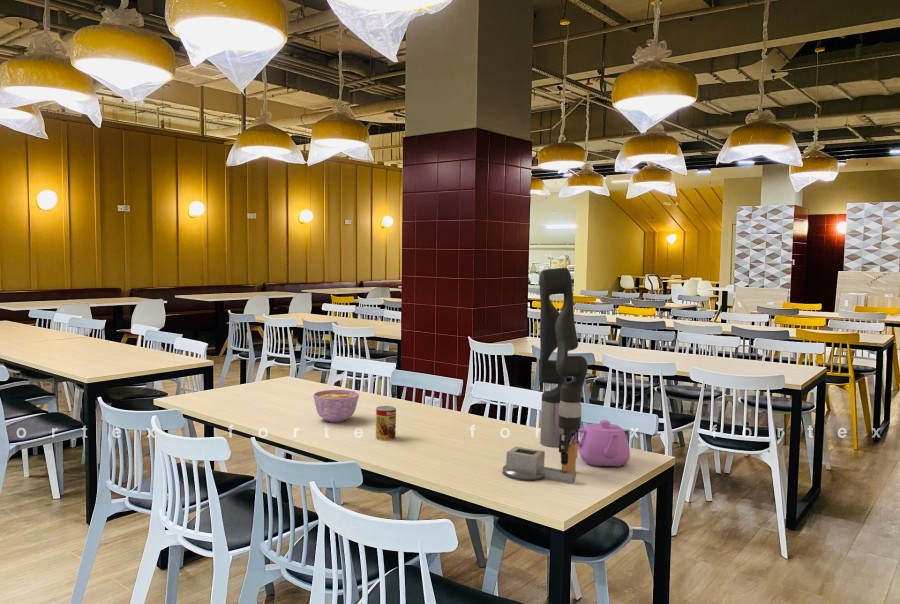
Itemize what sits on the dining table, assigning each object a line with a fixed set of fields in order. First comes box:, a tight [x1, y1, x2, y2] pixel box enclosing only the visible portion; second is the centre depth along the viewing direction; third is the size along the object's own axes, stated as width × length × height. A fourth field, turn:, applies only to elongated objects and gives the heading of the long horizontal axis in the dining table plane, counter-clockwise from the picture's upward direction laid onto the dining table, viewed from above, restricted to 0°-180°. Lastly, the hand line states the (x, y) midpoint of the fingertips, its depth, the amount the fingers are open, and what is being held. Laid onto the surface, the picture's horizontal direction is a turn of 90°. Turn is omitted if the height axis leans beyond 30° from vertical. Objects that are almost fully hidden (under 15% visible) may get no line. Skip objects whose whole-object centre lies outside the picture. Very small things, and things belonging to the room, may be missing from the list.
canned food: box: [375, 405, 397, 441], centre depth 257 cm, size 8×8×12 cm
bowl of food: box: [312, 389, 360, 423], centre depth 283 cm, size 20×20×12 cm
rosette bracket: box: [502, 446, 577, 485], centre depth 214 cm, size 15×24×8 cm, turn 62°
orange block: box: [561, 442, 579, 472], centre depth 220 cm, size 3×5×10 cm, turn 62°
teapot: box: [578, 419, 631, 467], centre depth 229 cm, size 23×21×15 cm
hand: (568, 461), depth 220 cm, fingers open, 8 cm apart
